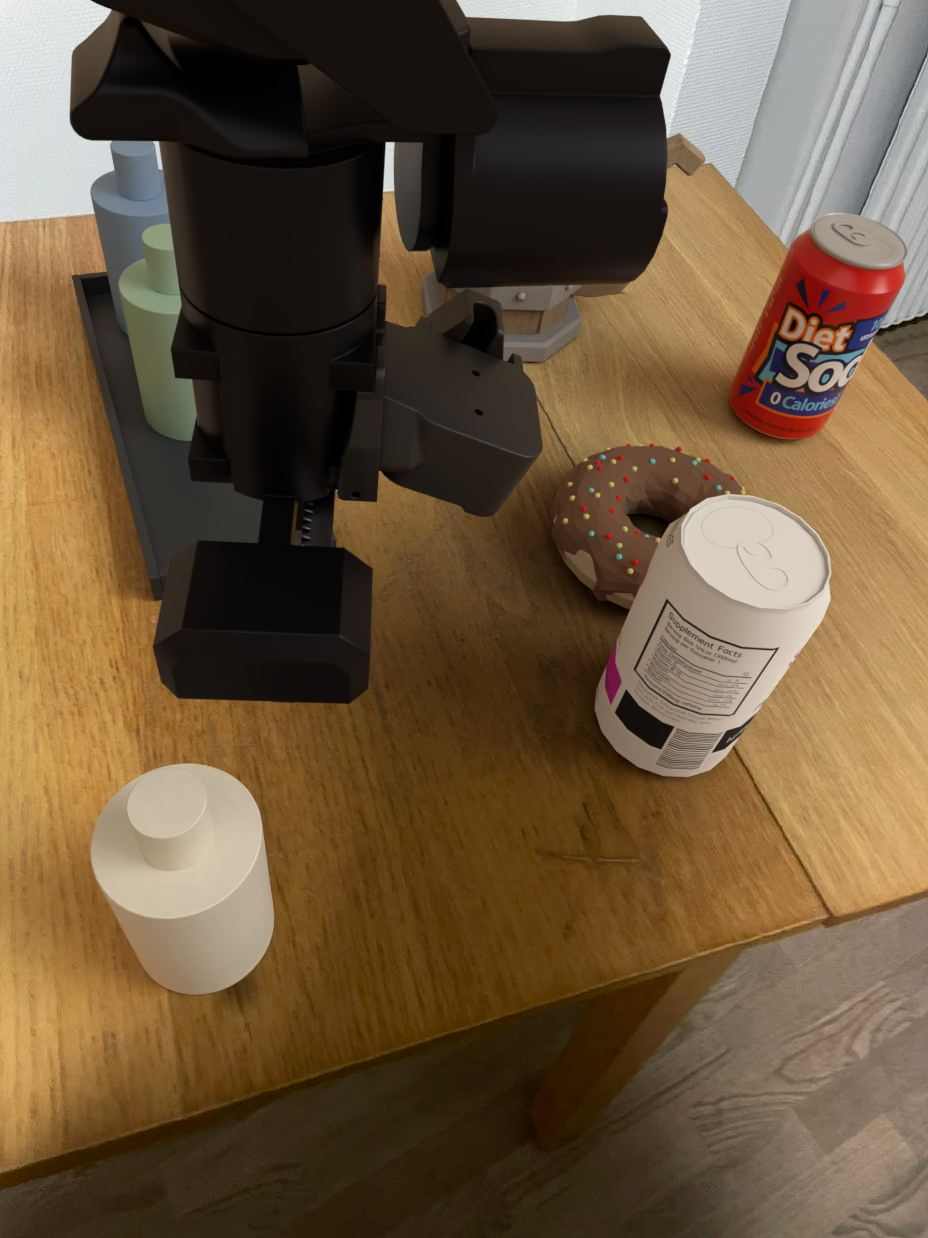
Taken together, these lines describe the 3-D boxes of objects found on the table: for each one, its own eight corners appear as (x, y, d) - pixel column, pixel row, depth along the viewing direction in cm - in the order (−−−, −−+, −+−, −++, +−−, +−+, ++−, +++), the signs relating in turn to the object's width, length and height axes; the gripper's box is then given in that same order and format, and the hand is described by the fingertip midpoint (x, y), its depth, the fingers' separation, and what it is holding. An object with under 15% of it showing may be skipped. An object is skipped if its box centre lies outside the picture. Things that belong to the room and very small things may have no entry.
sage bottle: (154, 448, 61) (119, 272, 51) (136, 388, 64) (100, 212, 54) (249, 432, 63) (234, 260, 53) (227, 375, 66) (209, 202, 56)
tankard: (431, 361, 71) (452, 170, 59) (416, 269, 78) (431, 83, 67) (673, 366, 74) (739, 186, 63) (636, 277, 82) (688, 102, 70)
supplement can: (569, 680, 54) (636, 502, 42) (687, 649, 56) (782, 472, 45) (630, 800, 50) (724, 638, 38) (756, 760, 52) (881, 597, 40)
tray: (154, 601, 54) (149, 579, 52) (76, 299, 70) (71, 274, 69) (336, 561, 57) (336, 539, 56) (222, 282, 74) (219, 258, 72)
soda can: (773, 372, 75) (855, 197, 64) (841, 430, 72) (943, 255, 60) (704, 398, 72) (777, 218, 60) (772, 459, 69) (864, 281, 57)
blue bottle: (125, 349, 67) (88, 173, 56) (110, 298, 70) (73, 124, 60) (213, 337, 69) (193, 165, 58) (194, 289, 72) (172, 118, 62)
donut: (640, 667, 55) (664, 617, 51) (505, 523, 61) (518, 468, 57) (793, 576, 61) (825, 526, 57) (657, 454, 67) (677, 400, 63)
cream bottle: (148, 1016, 40) (86, 914, 30) (123, 884, 44) (60, 751, 33) (290, 966, 42) (277, 853, 32) (255, 843, 46) (234, 706, 35)
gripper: (590, 527, 22) (493, 813, 34) (526, 150, 33) (471, 467, 45) (105, 500, 20) (187, 808, 33) (212, 117, 32) (243, 452, 44)
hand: (293, 607), depth 39 cm, fingers open, 9 cm apart
